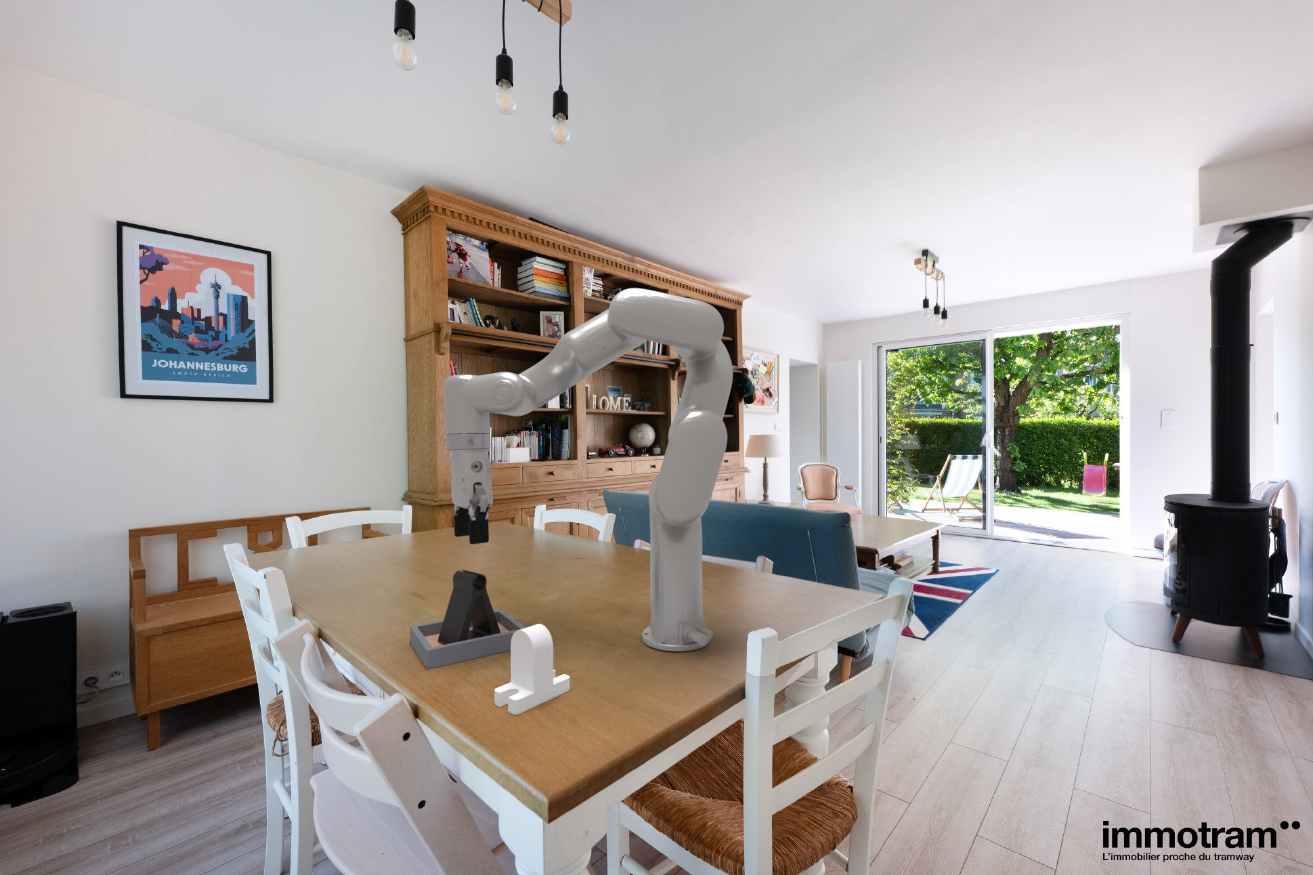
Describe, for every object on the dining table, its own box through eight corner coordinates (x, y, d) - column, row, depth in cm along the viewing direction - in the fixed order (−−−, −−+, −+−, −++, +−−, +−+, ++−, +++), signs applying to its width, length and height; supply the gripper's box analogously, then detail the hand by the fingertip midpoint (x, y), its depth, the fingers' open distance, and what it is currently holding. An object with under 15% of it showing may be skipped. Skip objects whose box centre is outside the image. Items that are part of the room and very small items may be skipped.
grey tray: (528, 646, 98) (528, 629, 98) (427, 669, 88) (427, 650, 88) (502, 624, 109) (502, 609, 109) (410, 642, 100) (410, 626, 100)
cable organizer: (492, 703, 77) (492, 632, 77) (548, 679, 84) (548, 614, 84) (515, 715, 73) (515, 641, 73) (571, 689, 81) (571, 621, 81)
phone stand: (481, 628, 104) (481, 565, 104) (501, 635, 100) (500, 569, 100) (437, 642, 97) (437, 574, 97) (456, 650, 93) (456, 579, 93)
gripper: (505, 443, 94) (507, 543, 94) (475, 444, 108) (477, 531, 108) (459, 444, 90) (463, 549, 90) (435, 445, 104) (437, 535, 104)
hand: (471, 539), depth 99 cm, fingers open, 9 cm apart
